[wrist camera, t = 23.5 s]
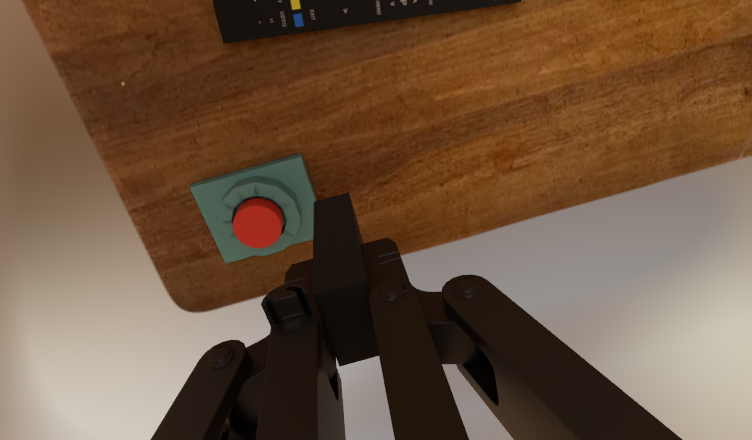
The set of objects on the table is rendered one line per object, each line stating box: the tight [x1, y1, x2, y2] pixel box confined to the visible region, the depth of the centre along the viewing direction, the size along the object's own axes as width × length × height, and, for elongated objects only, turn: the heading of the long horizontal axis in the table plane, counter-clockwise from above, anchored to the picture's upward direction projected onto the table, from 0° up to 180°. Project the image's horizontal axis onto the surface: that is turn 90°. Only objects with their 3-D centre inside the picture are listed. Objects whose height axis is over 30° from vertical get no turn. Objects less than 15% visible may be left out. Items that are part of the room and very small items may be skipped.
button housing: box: [190, 153, 317, 263], centre depth 38 cm, size 10×8×3 cm
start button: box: [233, 198, 283, 248], centre depth 36 cm, size 4×4×2 cm
